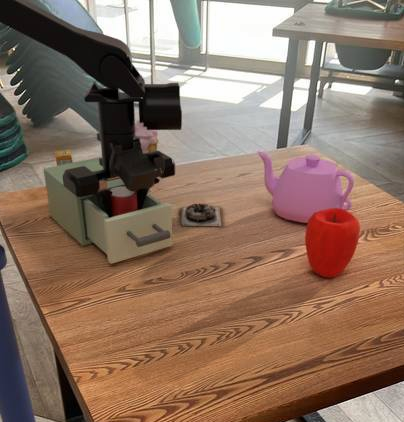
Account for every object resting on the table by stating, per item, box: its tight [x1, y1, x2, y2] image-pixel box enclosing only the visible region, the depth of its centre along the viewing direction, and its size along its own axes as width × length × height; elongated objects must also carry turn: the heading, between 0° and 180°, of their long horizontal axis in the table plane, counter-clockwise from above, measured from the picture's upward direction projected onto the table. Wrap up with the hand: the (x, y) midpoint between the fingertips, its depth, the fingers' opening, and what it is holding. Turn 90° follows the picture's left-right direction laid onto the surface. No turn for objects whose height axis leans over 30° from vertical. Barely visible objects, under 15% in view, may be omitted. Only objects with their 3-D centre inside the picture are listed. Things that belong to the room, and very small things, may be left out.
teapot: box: [256, 150, 355, 224], centre depth 113 cm, size 20×13×12 cm, turn 72°
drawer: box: [81, 192, 173, 265], centre depth 101 cm, size 18×12×8 cm
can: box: [110, 186, 138, 217], centre depth 100 cm, size 5×5×6 cm
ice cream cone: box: [135, 119, 159, 154], centre depth 121 cm, size 7×6×15 cm
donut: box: [180, 202, 222, 227], centre depth 114 cm, size 8×8×2 cm
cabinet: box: [42, 156, 126, 247], centre depth 109 cm, size 15×14×10 cm
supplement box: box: [54, 149, 74, 166], centre depth 116 cm, size 3×3×10 cm
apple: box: [304, 208, 361, 279], centre depth 96 cm, size 9×9×11 cm
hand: (123, 219), depth 102 cm, fingers closed on can, 5 cm apart
